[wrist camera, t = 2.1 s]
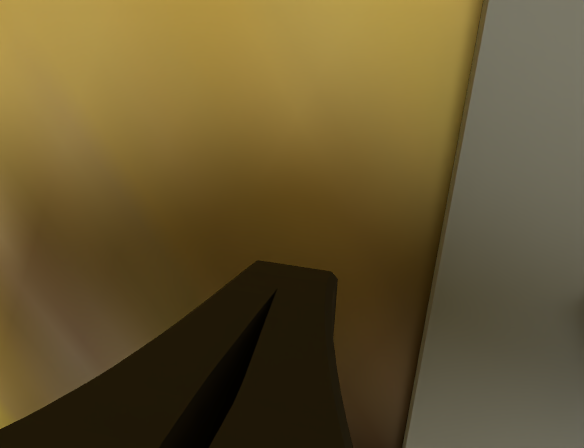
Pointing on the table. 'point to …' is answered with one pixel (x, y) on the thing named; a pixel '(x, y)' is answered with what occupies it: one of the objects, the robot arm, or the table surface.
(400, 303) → the table surface
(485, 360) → the mat
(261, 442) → the robot arm
